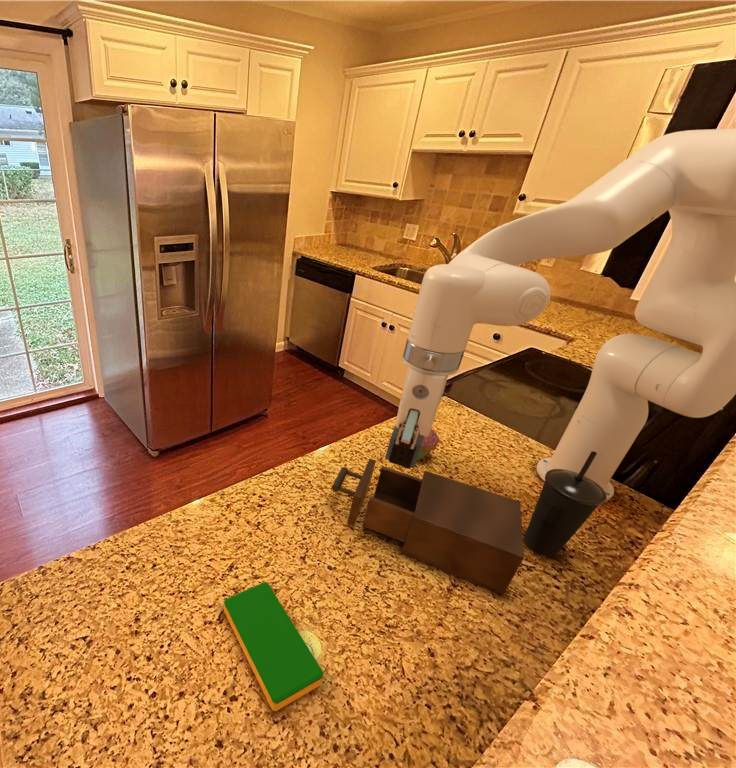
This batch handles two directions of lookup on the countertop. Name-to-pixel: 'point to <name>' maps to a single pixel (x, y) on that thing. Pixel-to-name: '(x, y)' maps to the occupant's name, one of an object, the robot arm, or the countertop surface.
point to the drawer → (383, 500)
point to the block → (417, 445)
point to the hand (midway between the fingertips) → (402, 454)
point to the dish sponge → (272, 646)
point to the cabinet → (466, 532)
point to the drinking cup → (562, 508)
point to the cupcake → (428, 444)
